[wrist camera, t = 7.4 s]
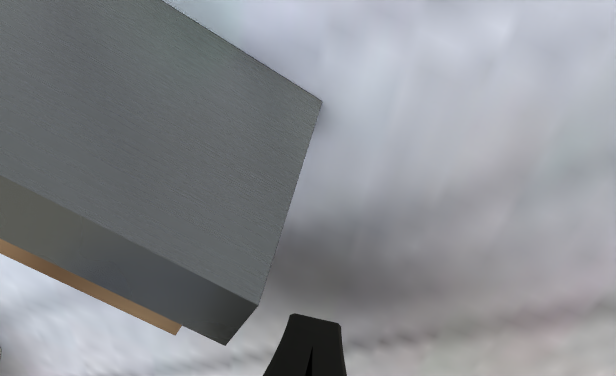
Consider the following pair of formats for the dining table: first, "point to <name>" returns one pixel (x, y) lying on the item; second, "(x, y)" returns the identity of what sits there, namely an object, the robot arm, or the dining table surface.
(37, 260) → the walnut rail
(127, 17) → the grey flat block
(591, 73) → the dining table surface
